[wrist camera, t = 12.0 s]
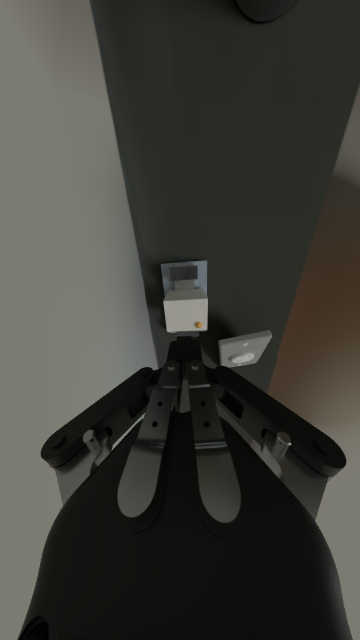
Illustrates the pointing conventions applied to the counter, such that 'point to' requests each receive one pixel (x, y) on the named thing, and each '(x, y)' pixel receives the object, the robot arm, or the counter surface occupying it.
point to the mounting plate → (198, 282)
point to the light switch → (243, 349)
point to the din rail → (184, 285)
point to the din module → (186, 310)
